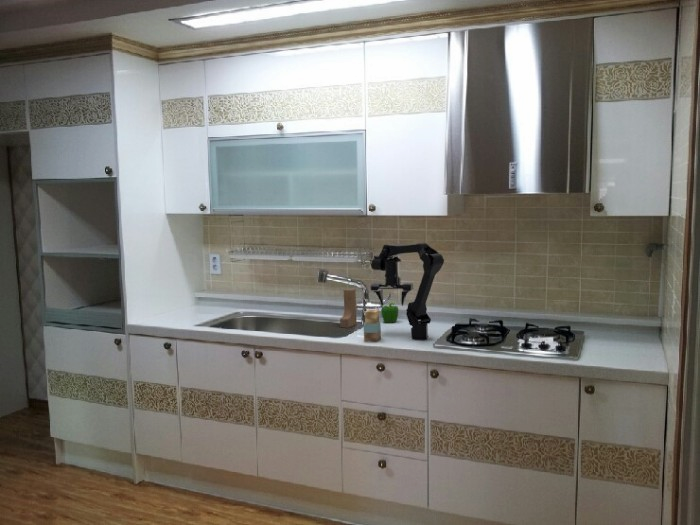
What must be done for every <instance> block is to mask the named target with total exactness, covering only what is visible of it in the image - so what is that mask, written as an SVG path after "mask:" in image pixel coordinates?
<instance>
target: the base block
mask: <svg viewBox="0 0 700 525" xmlns="http://www.w3.org/2000/svg"><path fill="white" fill-rule="evenodd" d="M363 340H364V342H368V341H370V342H371V343H372V342H373V343H374V342H375V343H378V342H379V341H381V340H382V330H380V331H379V332H378V333H364V332H363Z"/></svg>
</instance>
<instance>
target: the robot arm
mask: <svg viewBox="0 0 700 525" xmlns="http://www.w3.org/2000/svg"><path fill="white" fill-rule="evenodd" d="M409 253H411V254H412V253H417V254H418V256H419V259H420V260H421V261H422V263H423V264H422V267H423V268H422V269H423V274H422V278H421V280H420V283H419V286H418V290H417V293H416V296H415V298H414V300H413V301H411V302H408V304H407V307H406V310H405V311H406V312H405V313H406V318H407V321H408V325H409V326H410V327H411V328H410V336H411V340H423V341H425V340H427V339H428V338H429V337H430V336H429V332H428V331H429V330H428V329H429V328H428V324H431V321H432V318H431V317H430V316H429V315H428V313H427V309H428V307H427V300H428V297H429V294H430V292H431V289H432V286H433V283H434V279H435V276H436V275H437V274H438V273H439V271H441V269H442V267H443V265H444V263H445V259H444V257H443V255H442V254H441V253H439V252H438V251H437V250H436V249H434V248H433V247H431V246H430V245H429V244H428V243H426V242H418V243H414V244H413V243H411V244H401V243H389V244H388V243H387V244H383V246H382V249H381V251H380V252H379V255H374V256H373V259H372V260H371V263H370V266H371V269H372V270H374V271H381V272H385V274H384V277H385V278H384V282H385V283H384V284H383V283H382V282H373V283H372V284H371V285H370V291H373V293H375V294H376V295H377V297H378V299H379V302H380V303H381V306H382V307H384V294H383V293H384V292H383V291H384V290H383V289H385V290H386V289H388V290H389V289H391V290H393V289H394V290H396V289H397V290H401V289H402V291H401V301H400V302H401V307H402V306H404V303H405V299H406V298H407V294H408V293H410V292H411V291H413V290H414V284H413V283H412V282H404V283H403V284H401V280H402V279H401V277H400V276H399V271H398V270H399V268H398V266H399V265H398V263H401V262H402V260H401V258H399V257H398V256H400V255H403V254H409Z"/></svg>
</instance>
